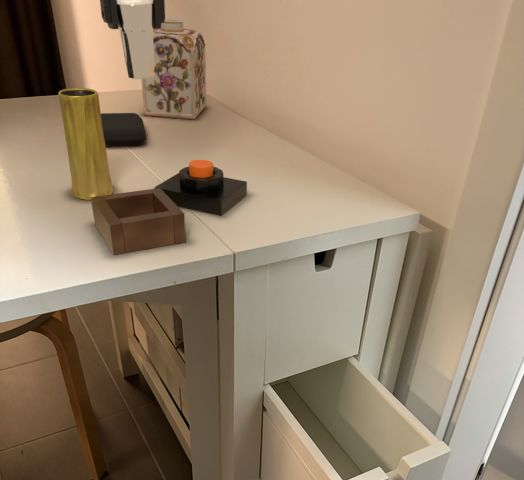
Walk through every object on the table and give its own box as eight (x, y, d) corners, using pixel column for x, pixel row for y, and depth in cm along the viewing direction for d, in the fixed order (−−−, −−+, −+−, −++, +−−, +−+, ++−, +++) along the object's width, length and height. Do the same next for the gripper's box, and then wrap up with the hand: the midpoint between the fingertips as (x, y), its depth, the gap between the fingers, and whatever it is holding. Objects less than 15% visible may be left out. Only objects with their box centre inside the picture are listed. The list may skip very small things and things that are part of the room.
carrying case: (89, 127, 112) (89, 149, 101) (87, 111, 110) (86, 132, 99) (142, 126, 115) (148, 147, 103) (141, 110, 113) (146, 130, 101)
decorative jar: (143, 116, 121) (135, 20, 110) (158, 103, 130) (152, 14, 119) (196, 120, 120) (194, 24, 109) (207, 107, 129) (206, 18, 118)
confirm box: (155, 201, 83) (153, 175, 80) (184, 182, 89) (183, 158, 87) (221, 215, 80) (221, 188, 77) (246, 195, 86) (247, 169, 84)
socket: (113, 255, 68) (109, 225, 66) (94, 225, 75) (90, 197, 73) (185, 242, 72) (184, 213, 70) (161, 215, 79) (159, 187, 76)
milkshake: (121, 72, 71) (109, -22, 65) (162, 73, 71) (154, -21, 65) (111, 79, 67) (98, -19, 61) (155, 81, 67) (146, -18, 61)
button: (184, 176, 82) (184, 164, 80) (196, 169, 84) (196, 157, 83) (206, 180, 80) (206, 168, 79) (217, 173, 83) (217, 161, 82)
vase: (96, 203, 81) (81, 99, 73) (63, 195, 83) (44, 93, 75) (121, 190, 86) (110, 91, 77) (89, 183, 88) (75, 85, 79)
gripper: (54, -181, 50) (82, 34, 60) (200, -161, 56) (202, 31, 66) (38, -172, 55) (66, 24, 66) (173, -155, 61) (179, 23, 71)
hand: (135, 27), depth 66 cm, fingers closed on milkshake, 4 cm apart
